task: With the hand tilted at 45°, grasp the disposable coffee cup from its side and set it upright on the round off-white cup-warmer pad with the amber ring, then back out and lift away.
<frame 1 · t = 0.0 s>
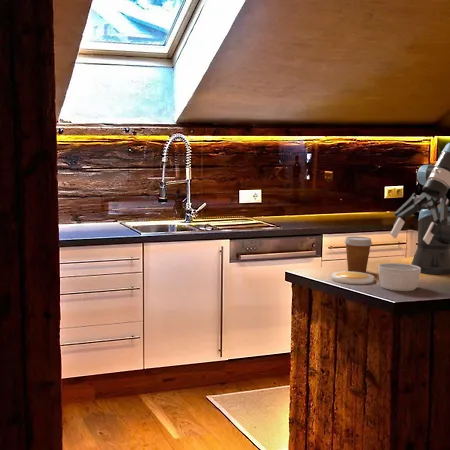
hand: (408, 239, 224), 15 cm above the table, tool tilted 35°, fingers open, 13 cm apart
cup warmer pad: (352, 279, 234), on the table
ramekin: (398, 288, 223), on the table
disposable coffee cup: (356, 272, 249), on the table
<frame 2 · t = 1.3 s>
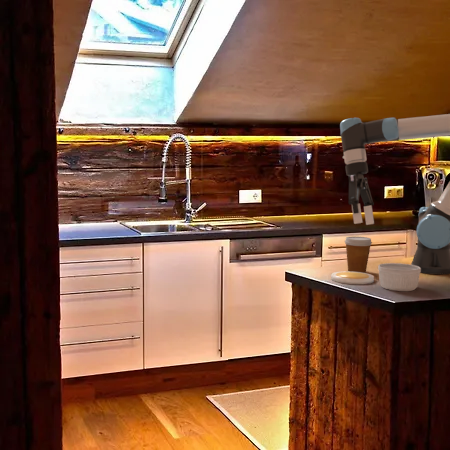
hand: (364, 223, 240), 18 cm above the table, tool tilted 15°, fingers open, 13 cm apart
nothing on the table moved.
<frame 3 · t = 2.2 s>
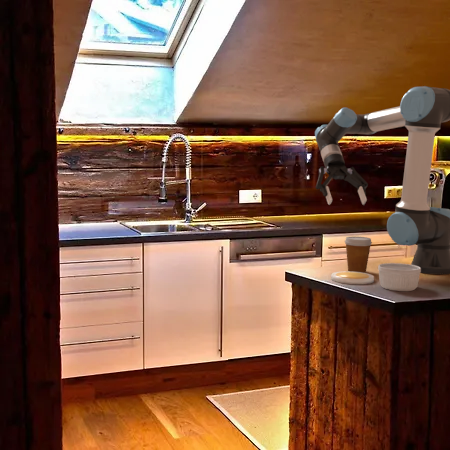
hand: (347, 202, 255), 24 cm above the table, tool tilted 45°, fingers open, 13 cm apart
nothing on the table moved.
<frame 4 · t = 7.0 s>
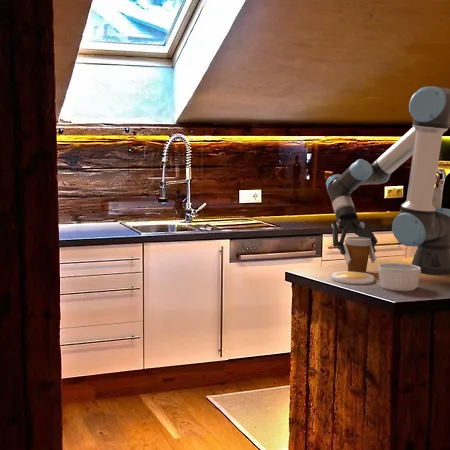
hand: (361, 261, 245), 4 cm above the table, tool tilted 45°, fingers closed on disposable coffee cup, 9 cm apart
disposable coffee cup: (356, 272, 249), on the table, touching gripper
everything else where it was.
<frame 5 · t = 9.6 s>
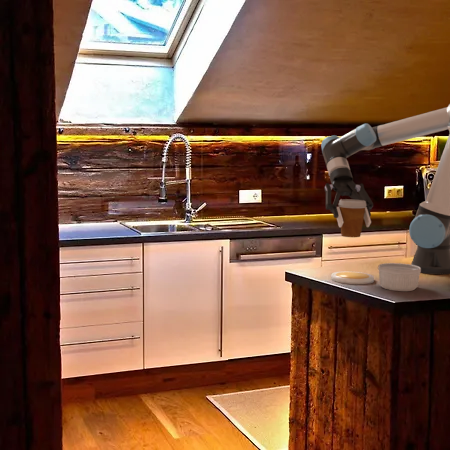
hand: (355, 224, 231), 19 cm above the table, tool tilted 45°, fingers closed on disposable coffee cup, 9 cm apart
disposable coffee cup: (350, 236, 235), point 14 cm above the table, touching gripper
everything else where it was.
when the fingers open (7 cm above the table, at t = 12.5 s): disposable coffee cup drops 1 cm, resting on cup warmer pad.
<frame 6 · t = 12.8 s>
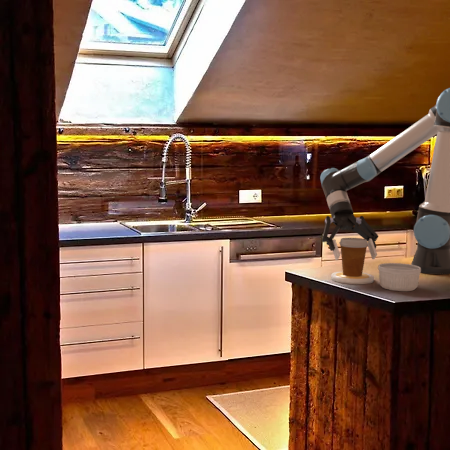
hand: (356, 257, 230), 8 cm above the table, tool tilted 45°, fingers open, 12 cm apart
disposable coffee cup: (352, 275, 234), point 1 cm above the table, touching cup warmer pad
everything else where it was.
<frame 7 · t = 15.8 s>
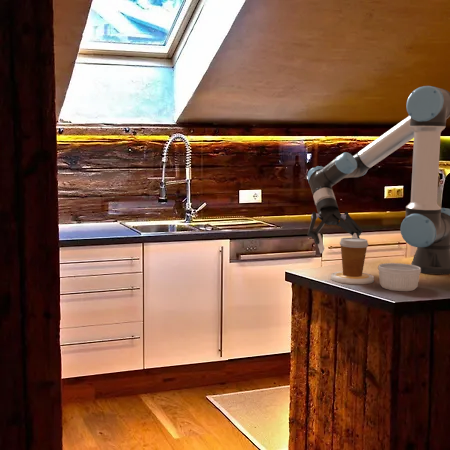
hand: (340, 250, 243), 8 cm above the table, tool tilted 45°, fingers open, 13 cm apart
nothing on the table moved.
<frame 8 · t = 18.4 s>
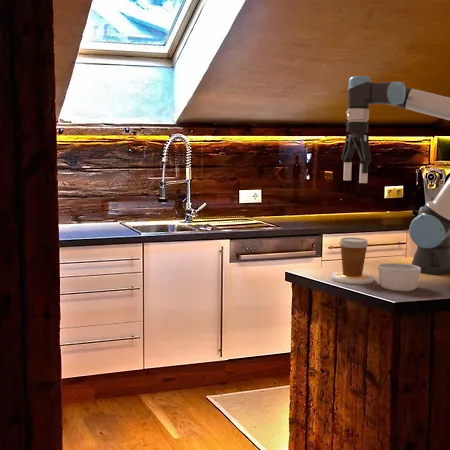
hand: (354, 181, 248), 32 cm above the table, tool pointing down, fingers open, 13 cm apart
nothing on the table moved.
at the end: disposable coffee cup inside the target area on the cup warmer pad (0.1 cm from its centre), point 1.4 cm above the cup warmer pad's base; disposable coffee cup tilted 1°; the gripper is holding nothing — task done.
